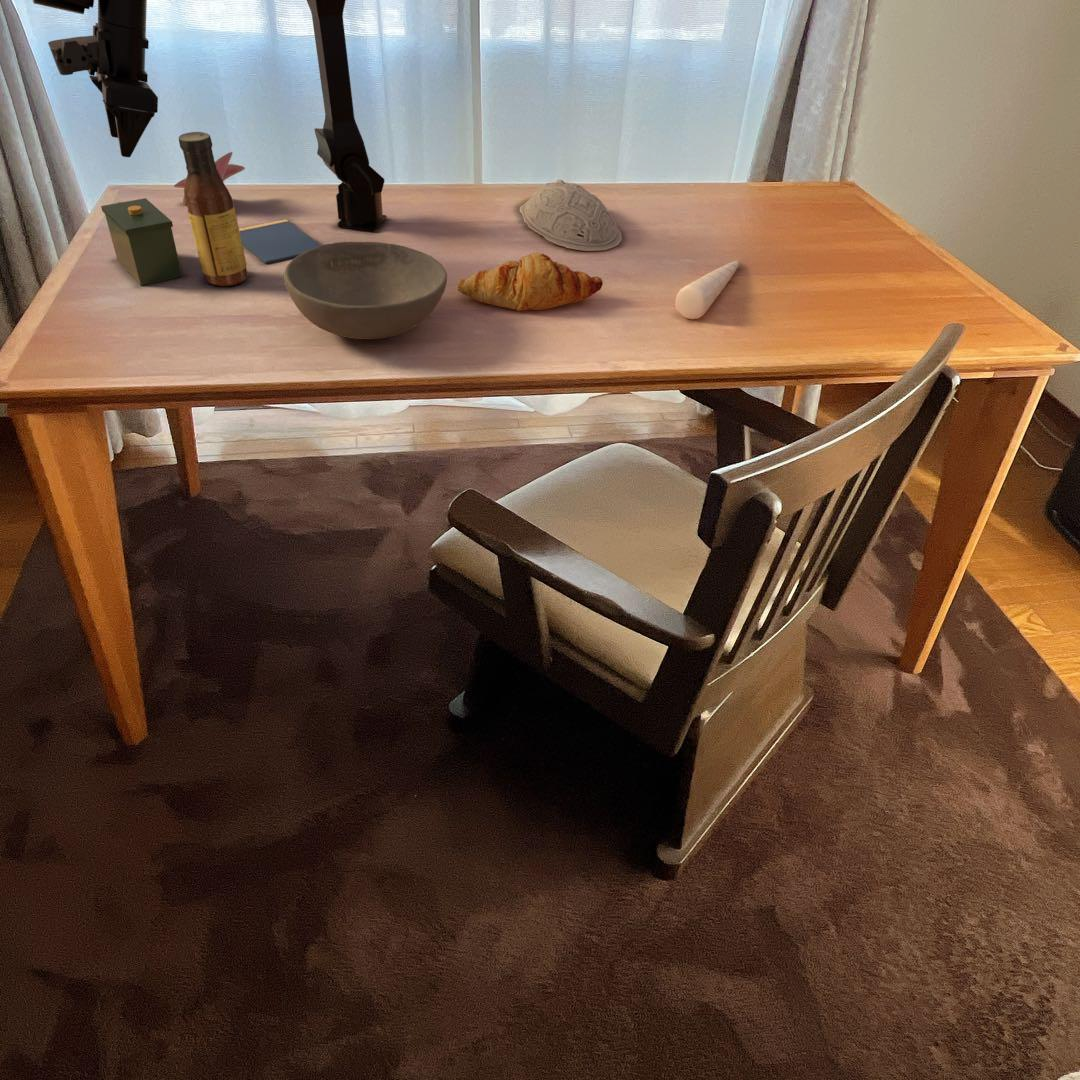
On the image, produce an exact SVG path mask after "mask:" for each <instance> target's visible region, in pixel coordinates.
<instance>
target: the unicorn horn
mask: <svg viewBox="0 0 1080 1080" xmlns="http://www.w3.org/2000/svg"><path fill="white" fill-rule="evenodd" d="M740 263H741V261H740V259H739V260H738V259H737V260H733V261H731V262H728V263H726V264H724V265H722V266H720V267H718V268H716V269H714V270H712V271H710V272H709V273H707V274H705V275H703V276H701V277H699V278H698V279H696V280H694V281H692V282H690V283H688V284H686V285H685V286H683V287H682V288H680V289H679V291H678V292H677V294H676V297H675V301H674V304H675V309H676V310H677V312H678V314H679V315H681V316H682V317H684V318H686V319H688V320H698V319H700V318H701V317H702V316H704V315H705V314H706V312H707V311H708V310H709V308H710V307H711V306H712V304H713V303H714V302H715V300H716V299H717V298H718V296H719V295H720V294H721V293H722V291H723V290H724V288H725V287H726V285H727V284H728V283H729V281H730V280H731V279H732V277H733V275H734V274H735V272H736V271H737V270H738V267H739V266H740Z"/></svg>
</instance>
